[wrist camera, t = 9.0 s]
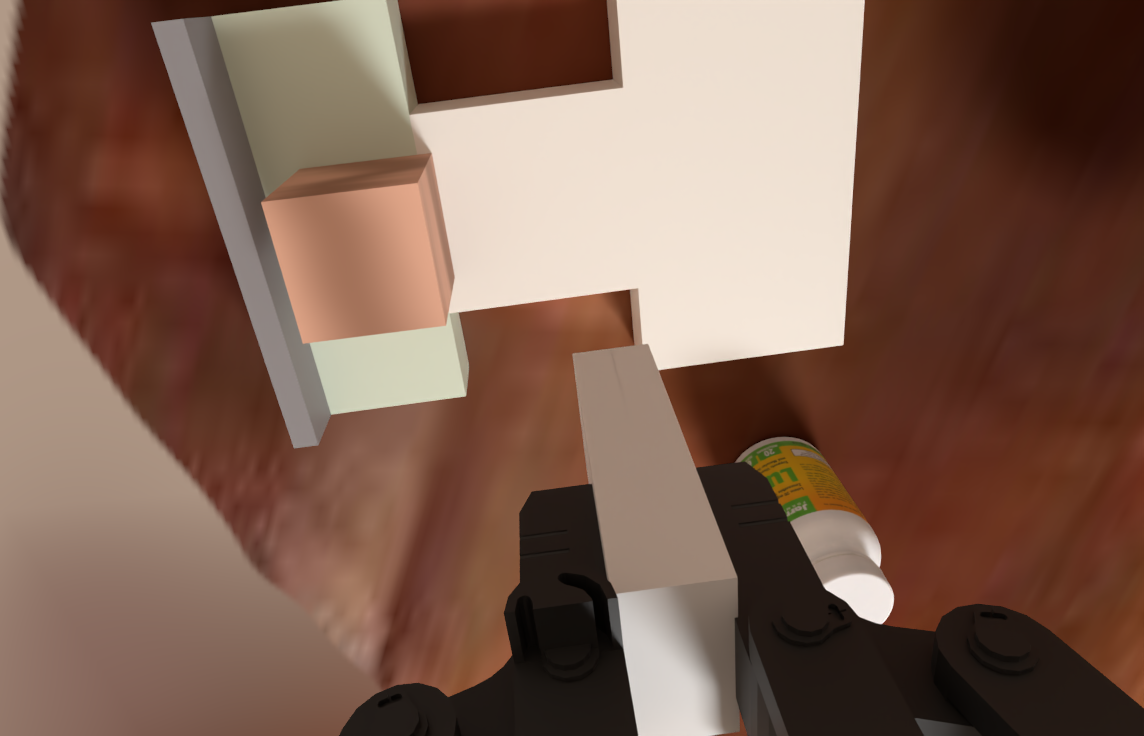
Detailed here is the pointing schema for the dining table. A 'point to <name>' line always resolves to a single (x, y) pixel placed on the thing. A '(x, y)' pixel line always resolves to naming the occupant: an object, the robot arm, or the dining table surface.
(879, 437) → the dining table surface
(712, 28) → the board
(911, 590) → the dining table surface
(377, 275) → the block
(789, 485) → the supplement bottle
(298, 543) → the dining table surface
